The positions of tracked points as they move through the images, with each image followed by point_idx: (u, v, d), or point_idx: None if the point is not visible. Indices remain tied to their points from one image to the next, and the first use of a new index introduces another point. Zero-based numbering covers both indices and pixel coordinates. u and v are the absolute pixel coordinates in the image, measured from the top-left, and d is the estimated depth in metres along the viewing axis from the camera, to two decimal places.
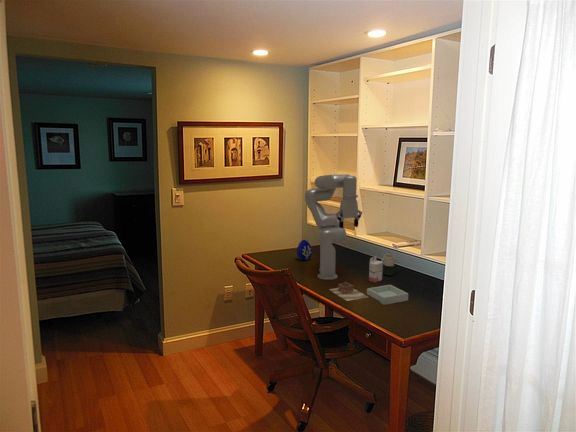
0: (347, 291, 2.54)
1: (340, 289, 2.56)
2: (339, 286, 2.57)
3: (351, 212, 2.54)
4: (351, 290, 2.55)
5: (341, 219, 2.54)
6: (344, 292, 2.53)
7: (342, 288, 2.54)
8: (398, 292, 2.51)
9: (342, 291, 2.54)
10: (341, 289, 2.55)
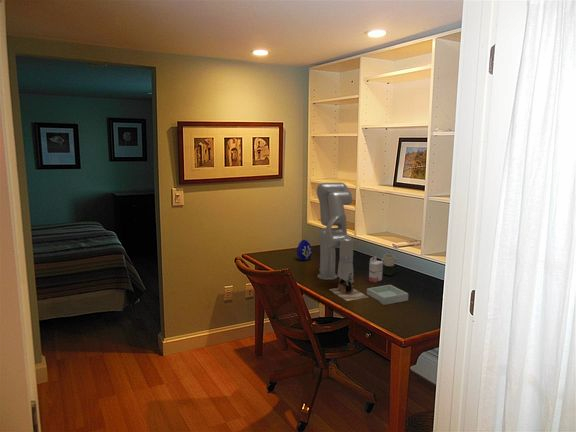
0: None
1: (340, 289, 2.56)
2: (339, 286, 2.57)
3: None
4: (351, 290, 2.55)
5: (351, 283, 2.52)
6: (344, 292, 2.53)
7: (342, 288, 2.54)
8: (398, 292, 2.51)
9: (342, 291, 2.54)
10: (341, 289, 2.55)
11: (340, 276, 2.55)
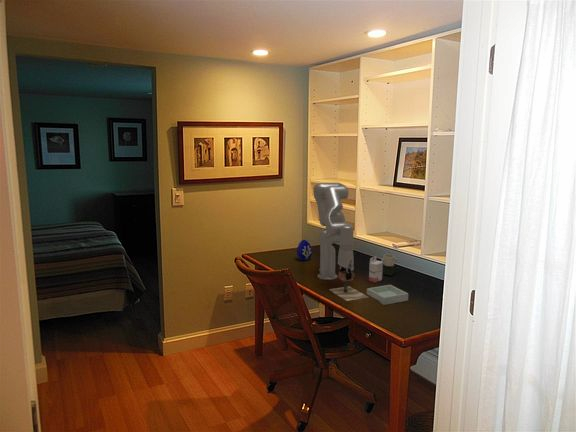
0: None
1: (341, 276, 2.54)
2: (339, 273, 2.55)
3: None
4: None
5: (352, 270, 2.51)
6: (344, 280, 2.52)
7: (342, 276, 2.53)
8: (398, 292, 2.51)
9: (342, 279, 2.53)
10: (341, 277, 2.54)
11: (340, 264, 2.54)
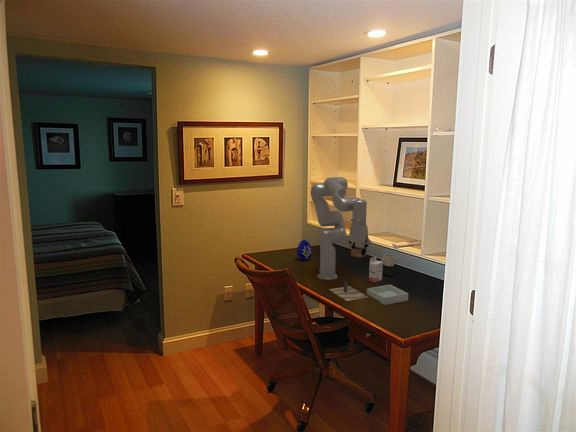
0: None
1: (355, 253, 2.48)
2: (353, 250, 2.49)
3: None
4: None
5: None
6: (360, 256, 2.47)
7: (358, 252, 2.47)
8: (398, 292, 2.51)
9: (358, 255, 2.47)
10: (356, 253, 2.48)
11: (354, 240, 2.48)
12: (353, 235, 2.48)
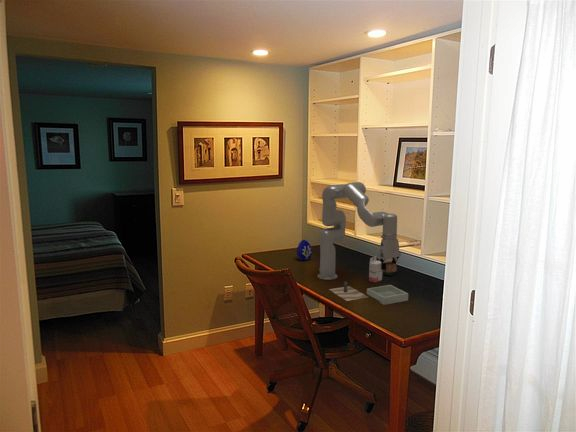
0: None
1: (391, 268, 2.43)
2: (389, 266, 2.43)
3: None
4: None
5: (394, 258, 2.49)
6: None
7: (394, 266, 2.44)
8: (398, 292, 2.51)
9: (394, 269, 2.44)
10: (393, 268, 2.44)
11: (390, 256, 2.42)
12: (389, 251, 2.41)
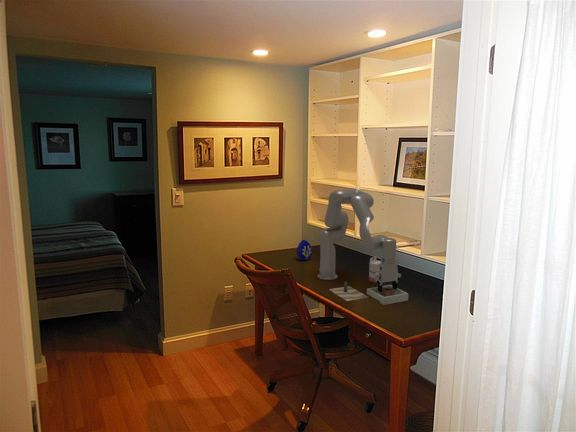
0: None
1: (390, 294, 2.46)
2: (388, 292, 2.46)
3: None
4: None
5: None
6: None
7: (393, 292, 2.47)
8: (398, 292, 2.51)
9: (392, 295, 2.47)
10: (391, 294, 2.47)
11: (389, 279, 2.45)
12: (388, 275, 2.44)
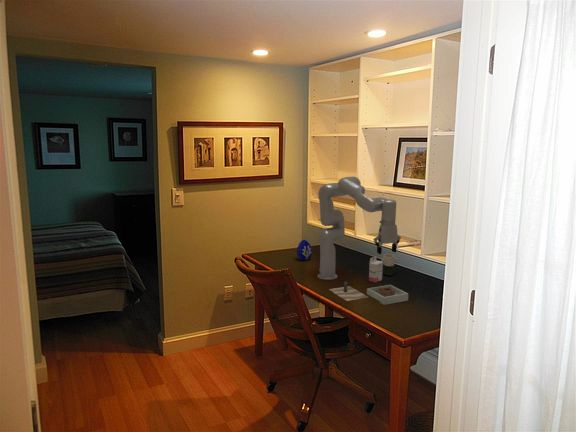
0: None
1: (390, 294, 2.46)
2: (388, 292, 2.46)
3: None
4: None
5: None
6: None
7: (393, 292, 2.47)
8: (398, 292, 2.51)
9: (392, 295, 2.47)
10: (391, 294, 2.47)
11: (388, 241, 2.44)
12: (387, 236, 2.43)
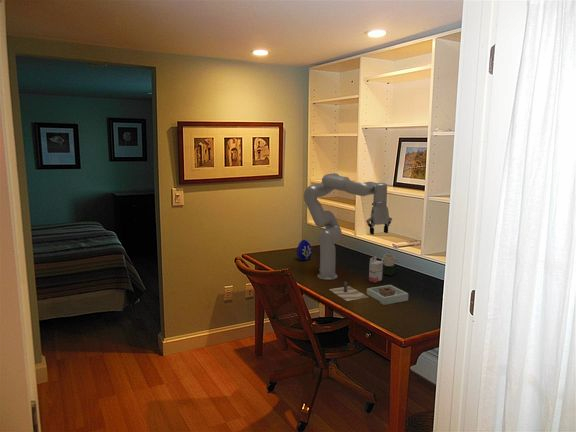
0: None
1: (390, 294, 2.46)
2: (388, 292, 2.46)
3: None
4: None
5: None
6: None
7: (393, 292, 2.47)
8: (398, 292, 2.51)
9: (392, 295, 2.47)
10: (391, 294, 2.47)
11: (380, 222, 2.58)
12: (379, 217, 2.58)
